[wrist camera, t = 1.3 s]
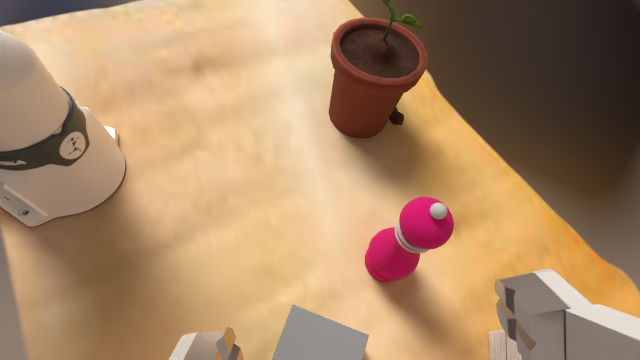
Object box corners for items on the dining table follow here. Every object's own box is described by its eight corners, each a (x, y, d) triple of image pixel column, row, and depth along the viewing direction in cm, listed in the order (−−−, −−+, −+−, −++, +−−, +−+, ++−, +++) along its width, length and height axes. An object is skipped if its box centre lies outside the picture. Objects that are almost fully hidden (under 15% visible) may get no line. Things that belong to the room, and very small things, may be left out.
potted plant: (295, 112, 64) (309, -17, 43) (354, 58, 75) (389, -68, 53) (371, 162, 61) (428, 49, 39) (422, 98, 71) (488, -19, 50)
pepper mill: (407, 288, 50) (480, 245, 33) (360, 282, 50) (409, 234, 32) (405, 243, 54) (470, 183, 37) (362, 236, 53) (407, 172, 36)
